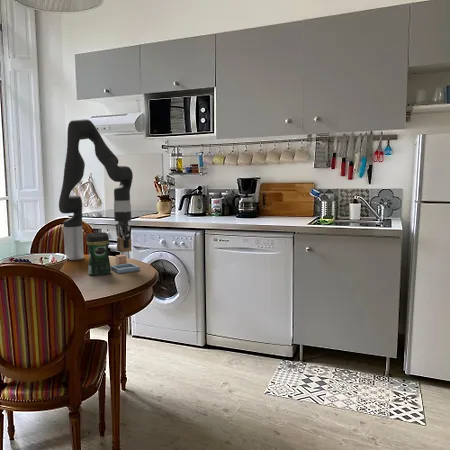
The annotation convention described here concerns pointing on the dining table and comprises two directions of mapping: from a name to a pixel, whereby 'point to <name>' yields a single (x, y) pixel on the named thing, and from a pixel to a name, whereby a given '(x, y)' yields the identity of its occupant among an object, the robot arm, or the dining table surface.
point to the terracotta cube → (121, 259)
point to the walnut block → (121, 245)
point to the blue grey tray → (125, 268)
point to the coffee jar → (98, 253)
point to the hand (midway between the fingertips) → (124, 247)
